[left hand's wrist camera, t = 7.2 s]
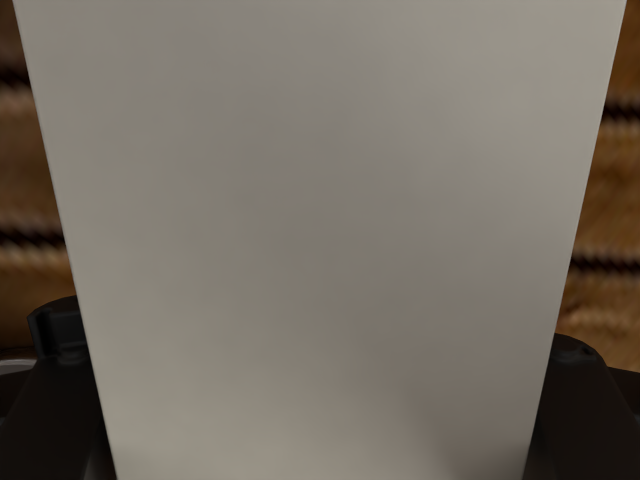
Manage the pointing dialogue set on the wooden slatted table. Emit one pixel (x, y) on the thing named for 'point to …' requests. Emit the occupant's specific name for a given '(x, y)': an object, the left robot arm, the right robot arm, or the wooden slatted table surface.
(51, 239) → the wooden slatted table surface
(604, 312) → the wooden slatted table surface
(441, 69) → the bar
